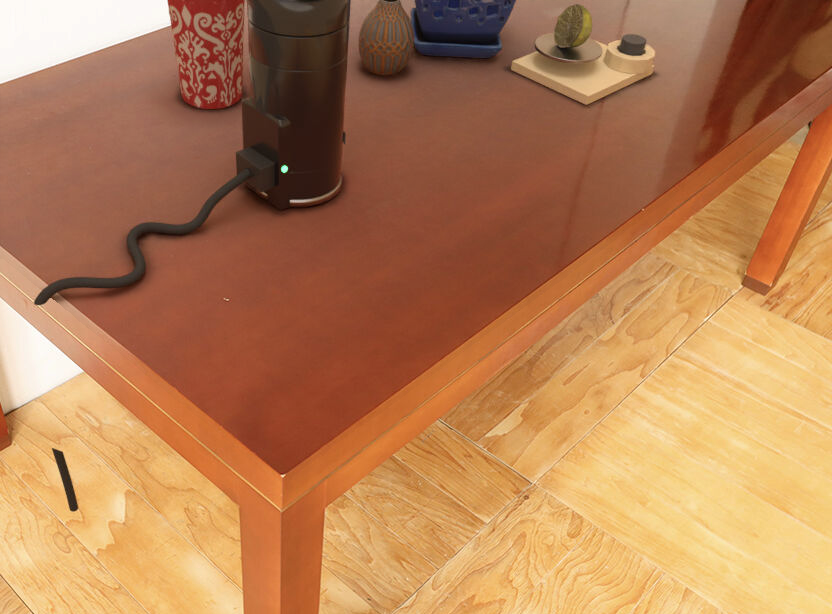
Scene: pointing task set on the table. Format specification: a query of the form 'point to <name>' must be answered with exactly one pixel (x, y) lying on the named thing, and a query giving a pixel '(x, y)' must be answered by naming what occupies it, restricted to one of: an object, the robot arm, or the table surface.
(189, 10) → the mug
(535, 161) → the table surface
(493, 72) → the table surface
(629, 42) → the tare button
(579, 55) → the weighing plate
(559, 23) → the lime
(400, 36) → the vase
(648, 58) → the scale
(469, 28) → the flower pot
